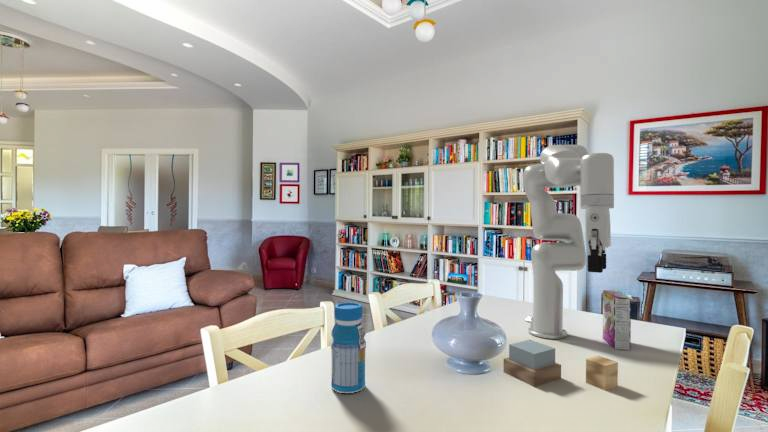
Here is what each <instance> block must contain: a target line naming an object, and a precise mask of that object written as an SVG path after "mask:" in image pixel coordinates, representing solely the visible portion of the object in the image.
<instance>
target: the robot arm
mask: <svg viewBox="0 0 768 432" xmlns="http://www.w3.org/2000/svg"><path fill="white" fill-rule="evenodd" d="M539 161H540V163H536V164H531V165H528V166H527V167H526V168H524V170H523V174H522V186H523V190H524V193H525V195H526V197H527V200H528V203H529V206H530V207H529V208H530V216H531V226H532V231H533V235H534V237H535V238H536V239H538V240H541V241H564V242H540V243H537V244H535V245H534V246H532V248H531V249H530V250H531V251H530V260H531V264H532V274H533V275H532V276H533V280H532V281H533V285H532V288H533V293H532V294H533V295H532V296H533V298H532V299H533V300H532V301H533V302H532V303H533V304H532V309H533V310H532V312H533V313H532V315H528V316H527V318H525V320H524V321H525V323H527V324H528V323H529V324H530V326H528V329H527V330H528V333H529V334H531V335H532V336H534V337H538V338H542V339H550V340H557V339H558V340H559V339H564V338H565V339H566V338H567V337H568V331H567V330H565V329H564V328H563V326H564V325H563V323H564V321H563V320H564V319H563V315H564V314H563V313H564V312H563V310H564V284H563V281H562V279H561V278H560V277H559V276H558V275H557V273H556V271H557V272H559V271H563V272H564V271H567V272H568V271H569V272H570V271H571V272H575V271H581V270H583V269H584V268H585V266H586V264H587V272H588V273H597V274H598V273H603V271H604V270H606V269H607V253H606V249H607V248H610V247H611V246H612V244H611V242H612V241H611V240H612V238H611V237H612V236H611V214H610V213H611V212H610V209H614V208H615V171H614V170H615V162H614V156H613V154H611V153H607V152H596V153H595V152H594V153H593V152H592V153H589V151H588V150H587V148H586V147H585V146H583V145H580V144H552V145H551V144H550V145H549V146H546V147H545V148H543V149H542V151H541V152H540V155H539ZM572 186H575V187H576V186H578V187H580V188H579V189H580V193H579V194H580V209H581V210H582V209H583V210H584V209H585V215H584V217H585V221H584V222H585V226H584V227H585V241H584V234H583V228H582V223H581V221H580V219H579V217H578V216H577V215H576V214H573V213H558V212H557V209H556V201H555V199H554V198H553V196H552V195H551V194H550V193H549V192H548V191H547V190H546V189H545V188H558V189H559V188H560V189H561V188H566V189H567V188H571V187H572ZM585 243H586V244H585ZM585 245H586V246H587V247H588V250H587V254H588V255H586V247H585ZM586 257H587V258H586ZM586 262H587V263H586Z"/></svg>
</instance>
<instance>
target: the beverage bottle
mask: <svg viewBox="0 0 768 432" xmlns="http://www.w3.org/2000/svg"><path fill="white" fill-rule="evenodd" d="M363 310H364V309H363V305H362V304H361V303H358V302H352V301H351V302H350V301H349V302H339V303H337V304H335V306H334V320H335V321H336V322H335V324H334V325H333V327H332V329H331V337H332V340H331V342H330V349H331V351H330V352H331V388H332V390H333V391H334V390H335V391H338V392H341V393H354V392H357V393H359V392H358V391H360V390H361V391H363V390H364V389H365V386H366V347H367V342H366V339H365V336H366V330H365V326H364V325H363V323H362V322H361V321H362V319H363ZM363 388H364V389H363ZM362 389H363V390H362ZM335 391H334V392H335ZM361 391H360V392H361ZM338 392H337V393H338ZM341 393H340V394H341ZM354 394H355V393H354Z"/></svg>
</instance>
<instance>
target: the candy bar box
mask: <svg viewBox="0 0 768 432" xmlns="http://www.w3.org/2000/svg"><path fill="white" fill-rule="evenodd" d="M631 304H632V298H631V297H629V296H627V295H626V294H625V293H624V294H623V293H622V292H621V291H619V290H611V289H610V290H608V289H607V290H606V289H605V290H602V339H603V340H604V341H605V342H606V343H607V344H608V345H610V347H611V348H612V349H613V350H616V351H631V337H632V336H631V334H632V333H631V328H632V327H631V326H632V325H631V323H632V320H631V319H632V318H631V316H632V313H631V312H632V311H631V308H632V306H631Z"/></svg>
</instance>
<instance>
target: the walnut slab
mask: <svg viewBox="0 0 768 432" xmlns="http://www.w3.org/2000/svg"><path fill="white" fill-rule="evenodd" d="M503 373H504V374H506V375H508V376H510V377H513V378H515V379H517V380H519V381H521V382H523V383H524V384H527V385H529V386H531V387H533V388H535V387H538V386H541V385H545V384H547V383H551V382H555V381H559V380H561V379H562V364H561V363H558V362H556V361H555V364H553V365H550V366H546V367H543V368H540V369H536V370H533V369H530V368H528V367H526V366H523V365H521V364H519V363H516V362H514V361H511V360H509V357H505V358H503Z"/></svg>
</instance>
